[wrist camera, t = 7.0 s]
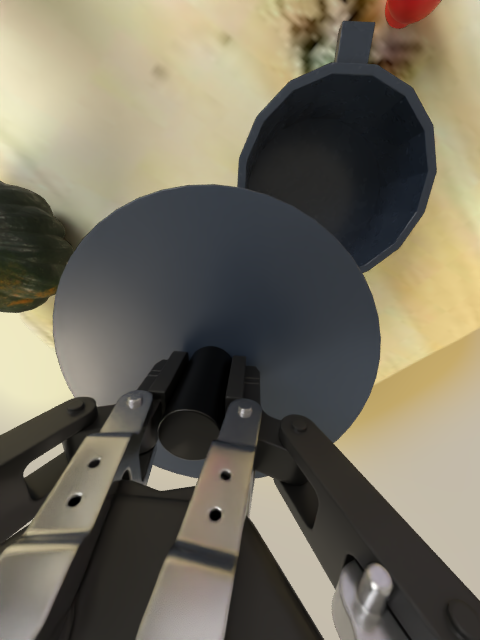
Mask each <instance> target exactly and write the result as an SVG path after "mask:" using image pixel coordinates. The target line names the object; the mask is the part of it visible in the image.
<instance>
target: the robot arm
mask: <svg viewBox="0 0 480 640" xmlns="http://www.w3.org/2000/svg"><path fill="white" fill-rule="evenodd" d="M188 363H189V354H188V352H182V351H173V353H172V354H171V356H170V357H169V359H168V360H165V359H163V360H161V361H159V362H158V363H156V364H155V365H154V367H153V368H152V369H151V371H150V372H149V374H148V376H146V378H145V379H144V380H143V382H142V383H141V385H140V386H139V387H138V389H137V390H135V391H131V392H128V393H126V394H124V395H123V396H121V397H120V398H119V400H118V401H117V403H116V404H114V405H107V406H100V407H97V405H96V401H95V400H94V399H93V398H91V397H77V398H74V399H71V400H68V401H66V402H64V403H62V404H60V405H58V406H56V407H54V408H52V409H51V410H49V411H47V412H45V413H43V414H41V415H39V416H37V417H35V418H33V419H31V420H29V421H27V422H25V423H23V424H21V425H19V426H17V427H16V428H14V429H12V430H10V431H8V432H6V433H4V434H2V435H0V640H324V638H323V637H322V635H321V634H320V632H319V630H318V629H317V627H316V625H315V624H314V622H313V620H312V619H311V617H310V615H309V614H308V612H307V611H306V609H305V607H304V606H303V604H302V603H301V601H300V599H299V598H298V596H297V594H296V593H295V591H294V590H293V588H292V586H291V584H290V583H289V581H288V580H287V578H286V576H285V575H284V573H283V572H282V570H281V568H280V566H279V565H278V563H277V562H276V560H275V558H274V557H273V555H272V553H271V552H270V550H269V548H268V547H267V545H266V544H265V542H264V540H263V539H262V537H261V535H260V534H259V532H258V530H257V529H256V527H255V526H254V524H253V523H252V522H251V520H250V519H249V516H250V508H251V501H252V493H253V487H254V480H255V473H256V471H258V472H260V473H263V474H265V475H267V476H270V477H272V478H274V483H275V485H276V487H277V488H278V490H279V492H280V494H281V495H282V497H283V499H284V501H285V502H286V504H287V505H288V507H289V509H290V511H291V513H292V514H293V516H294V518H295V520H296V522H297V523H298V525H299V527H300V529H301V530H302V532H303V534H304V536H305V537H306V539H307V541H308V543H309V544H310V546H311V548H312V549H313V551H314V553H315V555H316V556H317V558H318V560H319V562H320V563H321V565H322V567H323V569H324V570H325V572H326V574H327V576H328V577H329V579H330V581H331V583H332V584H333V586H334V588H335V593H334V596H333V600H332V616H333V621H334V625H335V628H336V630H337V632H338V635H339V638H340V640H480V601H479V600H478V599H477V597H476V596H475V595H474V594H473V593H472V592H471V591H470V590H469V589H468V588H467V587H466V586H465V585H464V583H463V582H461V580H460V579H459V578H458V577H457V576H456V575H455V574H454V573H453V572H452V571H451V570H450V568H448V566H447V565H446V564H445V563H444V562H443V561H442V560H441V559H440V558H439V557H438V556H437V555H436V553H435V552H434V551H433V550H432V549H431V548H430V547H429V546H428V545H427V544H426V543H425V542H424V541H423V540H422V538H421V537H420V536H419V535H418V534H417V533H416V532H415V531H414V530H413V529H412V528H411V527H410V526H409V524H408V523H407V522H406V521H405V520H404V519H403V518H402V517H401V516H400V515H399V514H398V513H397V512H396V511H395V509H394V508H393V507H392V506H391V505H390V504H389V503H388V502H387V501H386V500H385V499H384V498H383V496H382V495H381V494H380V493H379V492H378V491H377V490H376V489H375V488H374V487H373V486H372V485H371V484H370V483H369V481H368V480H367V479H366V478H365V477H364V476H363V475H362V474H361V473H360V472H359V471H358V470H357V469H356V467H354V465H353V464H352V463H351V462H350V461H349V460H348V459H347V458H346V457H345V456H344V455H343V454H342V452H341V451H340V450H339V449H338V448H337V447H336V446H335V445H334V444H333V443H332V442H331V441H330V440H329V438H328V437H327V436H326V435H325V434H324V433H323V432H322V431H321V430H320V429H319V428H318V427H317V426H316V425H315V423H314V422H313V421H311V420H310V419H309V418H307V417H305V416H302V415H297V414H291V415H287V416H285V417H284V418H283V419H282V420H278V419H275V418H273V417H271V416H269V415H267V414H266V413H265V412H264V411H263V410H262V408H261V399H260V372H259V370H258V369H257V367H256V366H246V356H235V355H233V358H232V363H231V369H230V374H229V380H228V385H227V391H226V396H225V418H224V421H223V424H222V427H221V430H220V433H219V436H218V438H217V440H215V439H214V440H213V441H212V443H211V445H210V448H209V451H208V454H207V456H206V459H205V462H204V465H203V467H202V470H201V473H200V475H199V478H198V481H197V484H196V486H192V487H185V488H179V489H173V490H167V491H158V490H155V489H153V488H150V487H148V486H147V482H148V479H149V475H150V472H151V468H152V465H153V461H154V458H155V454H156V451H157V441H158V425H159V422H160V420H161V418H162V416H163V414H164V412H165V410H166V408H167V406H168V404H169V402H170V400H171V398H172V396H173V394H174V392H175V390H176V388H177V386H178V383H179V381H180V379H181V377H182V375H183V373H184V371H185V369H186V367H187V365H188ZM60 443H62V444H63V448H64V452H63V453H62V454H60V455H59V456H57V457H56V458H54V459H53V460H51V461H49V462H48V463H47V464H45V465H43V466H42V467H40V468H39V469H38V470H36V471H34V472H33V473H31V474H30V475H28V476H27V477H25V478H24V477H23V472H24V470H25V468H26V467H27V465H28V464H29V463H30V462H32V461H33V460H35V459H36V458H38V457H39V456H41V455H43V454H44V453H46V452H47V451H49V450H50V449H52V448H54V447H55V446H57V445H58V444H60ZM33 518H34V519H33ZM32 519H33V520H32ZM31 520H32V522H31V523H30V524H29V525H28V526H26V527H25V528H23V529H22V530H20V531H19V532H17V531H18V530H19V529H20V528H22V527H23V526H24V525H26V524H27V523H28V522H29V521H31ZM15 532H17V533H16V534H14V533H15ZM13 534H14V535H13ZM12 535H13V536H12ZM10 536H12V537H10ZM9 537H10V538H9Z"/></svg>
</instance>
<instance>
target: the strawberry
mask: <svg viewBox="0 0 480 640" xmlns="http://www.w3.org/2000/svg"><path fill="white" fill-rule="evenodd" d="M441 1H442V0H387V3H386V8H385V16H386V20H387V22H388V24H389V25H390V26H391V27H393V28H396V29H400V28H404V27H406V26H408V25H409V24H411V23H415V22H418V21H420V20H421V19H423V18H425V17H426V16H427V15H429V14H430V13H431V12H432V11H433V10H434V9H435V8H436V7H437V6H438V5H439V3H440V2H441Z"/></svg>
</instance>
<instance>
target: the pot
mask: <svg viewBox="0 0 480 640" xmlns="http://www.w3.org/2000/svg"><path fill="white" fill-rule="evenodd" d="M374 27H375V22H354V21H343V22H342V25H341V27H340V29H339V33H338V40H337V47H336V53H335V60H334V62H333V63H332V62H331V63H329V64H327V65H325V66H322V67H320V68H318V69H316V70H313V71H311V72H309V73H307V74H304V75H302V76H300V77H298V78H295V79H293V80H291V81H290V82H288V83H287V84H286V86H285V87H284V88H283V89H282V90H281V91H280V92H279V93H278V94H277V95H276V96H275V97H274V98H273V99H272V100H271V102H270V103H269V104H268V105H267V106H266V107H265V108H264V109H263V110H262V111H261V112H260V113H259V114H258V116H257V117H256V119H255V121H254V124H253V126H252V129H251V131H250V133H249V136H248V138H247V140H246V143H245V145H244V148H243V150H242V152H241V155H240V157H239V167H238V186H237V187H240V188H244V189H248V190H252V191H255V192H259V193H263V194H266V195H269V196H271V197H274V198H276V199H278V200H281V201H283V202H285V203H287V204H290V205H292V206H294V207H295V208H297V209H298V210H300V211H302V212H303V213H305V214H306V215H308V216H310V217H311V218H313V219H315V220H316V221H317V222H318V223H319V224H320V225H322V226H323V227H324V228H325V229H326V230H327V231H329V232H330V233H331V234H332V235H333V236H334V237H335V238H336V239H337V240H338V241H339V242H340V243H341V245H342V246H343V247H344V248H345V249H346V250H347V251H348V253H349V254H350V255H351V256H352V258H353V259H354V261H355V263H356V264H357V266H358V267H359V269H360V270H361V272H362V273H363V272H367V271H369V270H370V269H371V268H373V267H374V266H376V265H377V264H378V263H380V262H381V261H382V260H384V259H385V258H386V257H388V256H389V255H390V254H392V253H393V252H395V251H396V250H397V249H399V247H400V246H401V245H402V244H403V242H404V241H405V239H406V238H407V237H408V235H409V234H410V232H411V231H412V229H413V228H414V227H415V225H416V224H417V222H418V221H419V220H420V218H421V217H422V215H423V214H424V212H425V209H426V205H427V202H428V199H429V195H430V192H431V189H432V185H433V182H434V178H435V175H436V172H437V171H436V170H437V169H436V155H435V141H434V127H433V124H432V122H431V120H430V118H429V117H428V115H427V113H426V111H425V109H424V107H423V106H422V104H421V102H420V100H419V98H418V96H417V95H416V93H415V91H414V89H413V88H412V87H411V86H409V85H408V84H406V83H405V82H403V81H402V80H400V79H399V78H397V77H395V76H394V75H392V74H391V73H389V72H388V71H386V70H385V69H383V68H381V67H380V66H378V65H376V64H368V59H369V54H370V48H371V43H372V38H373V32H374Z"/></svg>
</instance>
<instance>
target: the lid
mask: <svg viewBox="0 0 480 640" xmlns="http://www.w3.org/2000/svg"><path fill="white" fill-rule="evenodd" d="M53 337H54V343H55V349H56V355H57V358H58V361H59V365H60V368H61V371H62V373H63V376H64V378H65V380H66V382H67V385H68V387H69V389H70V391H71V392H72V394H73V396H74V397H75V398H77V397H91V398H93V399H94V400H95V401H96V405H97V407H100V406H107V405H114V404H116V403H117V401H118V400H119V398H120V397H121V396H123V395H124V394H126V393H128V392H131V391H135V390H137V389H138V387H139V386H140V385H141V383H142V382H143V380H144V379H145V378H146V376H148V374H149V372H150V371H151V369H152V368H153V367H154V365H155V364H156V363H158V362H159V361H161V360H163V359H165V360H168V359H169V357H170V356H171V354H172V353H173V351H182V352H188V354H189V363H188V365H187V367H186V369H185V371H184V373H183V375H182V377H181V379H180V381H179V383H178V386H177V388H176V390H175V392H174V394H173V396H172V398H171V400H170V402H169V404H168V406H167V408H166V410H165V412H164V414H163V416H162V418H161V420H160V422H159V425H158V441H157V451H156V454H155V458H154V461H153V465H155V466H157V467H159V468H162V469H165V470H168V471H171V472H174V473H176V474H181V475H185V476H189V477H193V478H199V475H200V473H201V470H202V467H203V465H204V462H205V459H206V456H207V454H208V451H209V448H210V445H211V443H212V441H213V440H214V439H215V440H217V438H218V436H219V433H220V430H221V427H222V424H223V421H224V418H225V396H226V391H227V385H228V380H229V374H230V369H231V363H232V358H233V355H235V356H246V366H256V367H257V369H258V370H259V372H260V399H261V408H262V410H263V411H264V412H265V413H266V414H267V415H269V416H271V417H273V418H275V419H278V420H282V419H283V418H284V417H285V416H287V415H291V414H297V415H302V416H305V417H307V418H309V419H310V420H311V421H313V422H314V423H315V425H316V426H317V427H318V428H319V429H320V430H321V431H322V432H323V433H324V434H325V435H326V436H327V437H328V438H329V440H330V441H331V442H332V443H334V442H335V441H337V440H338V439H339V438H340V437H341V436H342V435H343V434H344V433H345V432H346V430H347V429H348V428H349V427H350V426H351V425H352V423H353V422H354V421H355V419H356V418H357V417H358V415H359V414H360V412H361V411H362V409H363V407H364V405H365V403H366V401H367V399H368V398H369V396H370V393H371V390H372V387H373V385H374V382H375V379H376V375H377V370H378V365H379V360H380V343H381V336H380V327H379V318H378V314H377V310H376V306H375V303H374V299H373V295H372V293H371V291H370V289H369V286H368V284H367V282H366V280H365V277H364V275H363V274H362V272H361V270H360V269H359V267H358V266H357V264H356V263H355V261H354V259H353V258H352V256H351V255H350V254H349V253H348V251H347V250H346V249H345V248H344V247H343V246H342V245H341V243H340V242H339V241H338V240H337V239H336V238H335V237H334V236H333V235H332V234H331V233H330V232H329V231H327V230H326V229H325V228H324V227H323V226H322V225H320V224H319V223H318V222H317V221H316V220H315V219H313V218H311V217H310V216H308V215H306V214H305V213H303V212H302V211H300V210H298V209H297V208H295V207H294V206H292V205H290V204H287V203H285V202H283V201H281V200H278V199H276V198H274V197H271V196H269V195H266V194H263V193H259V192H255V191H252V190H248V189H244V188H240V187H232V186H223V185H215V184H211V185H186V186H180V187H175V188H169V189H163V190H160V191H157V192H154V193H151V194H148V195H145V196H142V197H139V198H137V199H135V200H133V201H131V202H130V203H128V204H126V205H124V206H122V207H120V208H118V209H116V210H115V211H114V212H112V213H111V214H110V215H108V216H107V217H106V218H104V219H103V220H102V221H101V222H99V223H98V224H97V225H96V226H95V227H94V228H93V229H92V230H91V231H90V232H89V233H88V234H87V235H86V236H85V237H84V239H83V240H82V241H81V242H80V244H79V245H78V247H77V248H76V250H75V251H74V253H73V254H72V256H71V257H70V259H69V261H68V263H67V265H66V267H65V269H64V271H63V274H62V276H61V278H60V282H59V285H58V289H57V292H56V296H55V303H54V310H53ZM266 476H267V475H265V474H263V473H260V472H258V471H256V473H255V478H261V477H266Z"/></svg>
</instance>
